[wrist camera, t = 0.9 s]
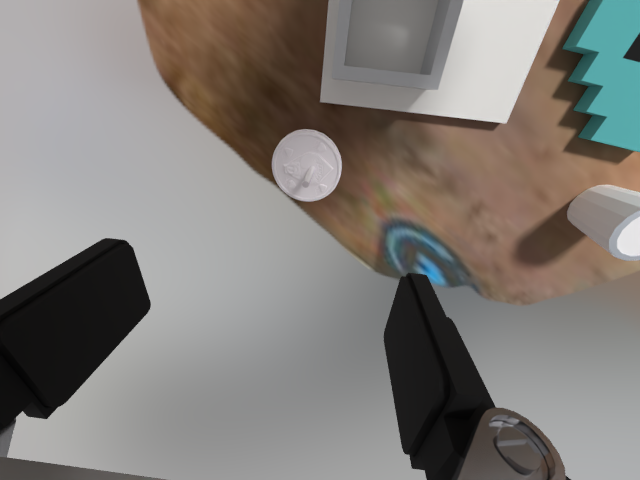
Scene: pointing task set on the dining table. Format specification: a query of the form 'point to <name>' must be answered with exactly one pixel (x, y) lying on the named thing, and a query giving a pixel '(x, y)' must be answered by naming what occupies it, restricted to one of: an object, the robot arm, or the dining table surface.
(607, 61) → the alien figure
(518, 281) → the dining table surface
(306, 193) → the smoothie
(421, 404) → the robot arm
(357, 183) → the dining table surface
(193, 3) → the dining table surface
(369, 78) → the bottle stand
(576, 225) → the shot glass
